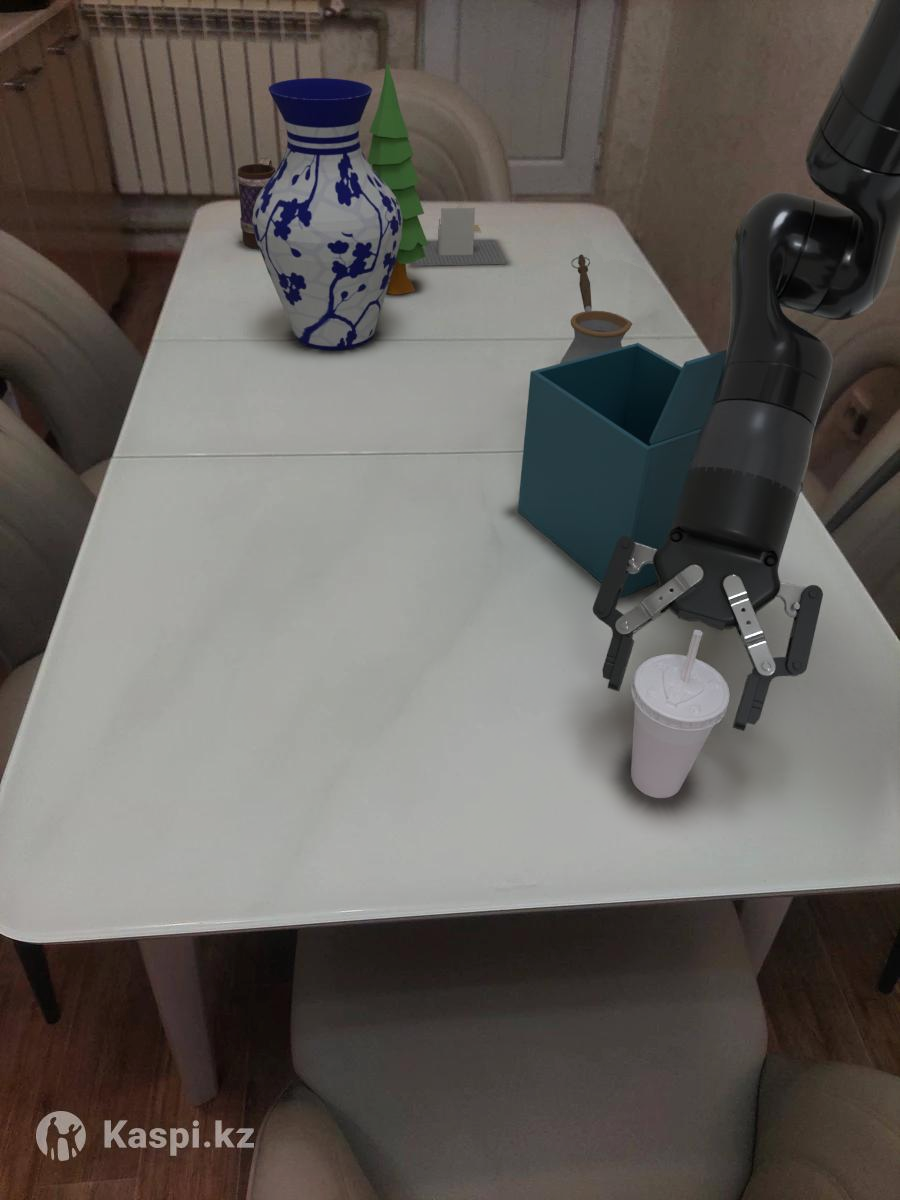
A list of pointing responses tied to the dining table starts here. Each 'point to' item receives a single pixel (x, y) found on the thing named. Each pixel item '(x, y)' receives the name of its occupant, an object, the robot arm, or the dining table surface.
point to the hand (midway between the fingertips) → (674, 709)
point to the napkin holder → (459, 242)
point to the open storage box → (603, 456)
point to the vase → (327, 217)
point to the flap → (690, 397)
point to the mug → (252, 195)
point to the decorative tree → (397, 180)
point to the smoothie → (673, 717)
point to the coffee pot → (593, 324)
